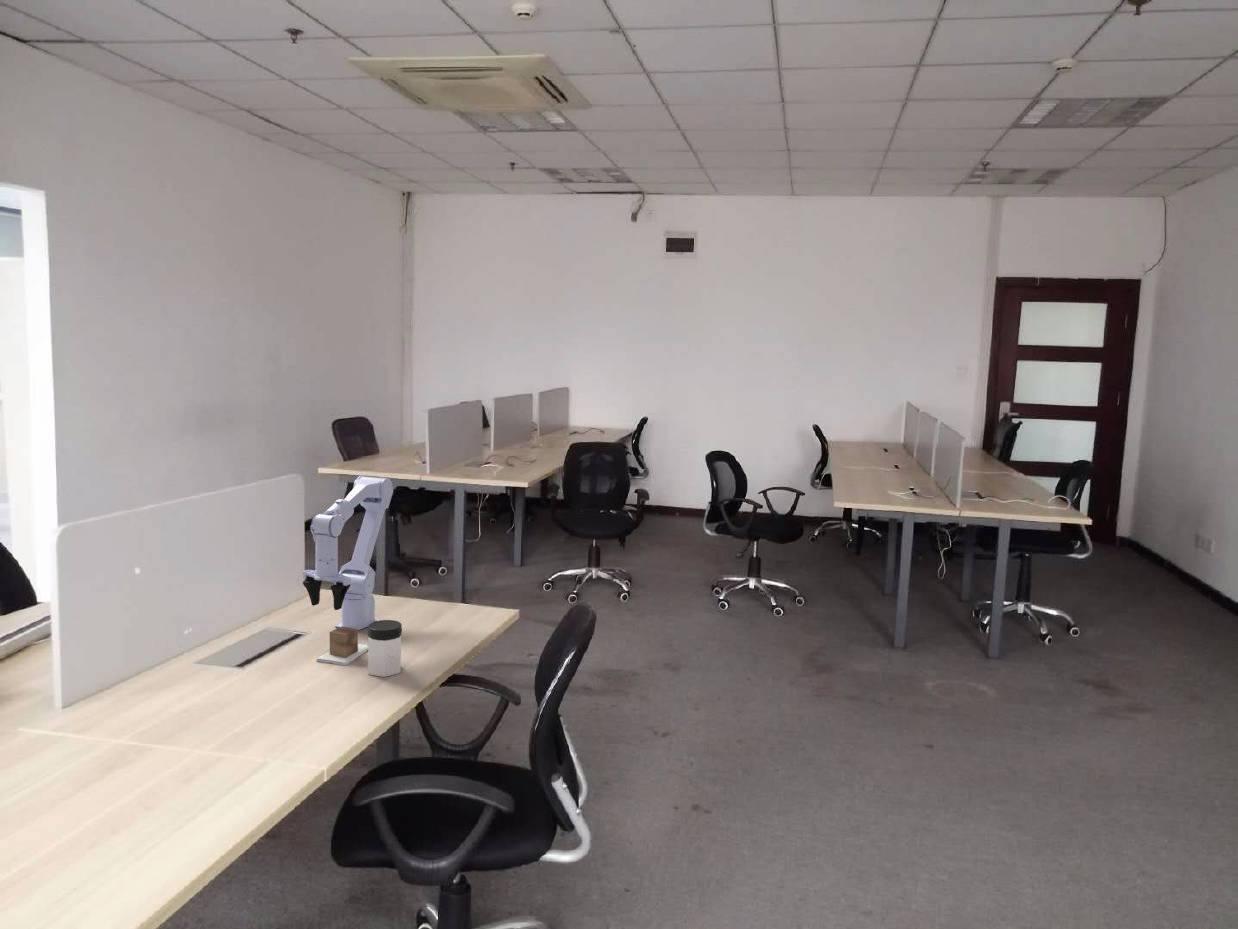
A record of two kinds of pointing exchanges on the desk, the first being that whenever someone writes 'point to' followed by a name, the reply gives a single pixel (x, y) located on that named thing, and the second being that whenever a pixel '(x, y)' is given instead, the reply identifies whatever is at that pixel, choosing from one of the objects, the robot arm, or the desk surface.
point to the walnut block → (343, 641)
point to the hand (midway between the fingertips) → (326, 606)
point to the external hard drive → (342, 660)
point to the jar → (384, 648)
